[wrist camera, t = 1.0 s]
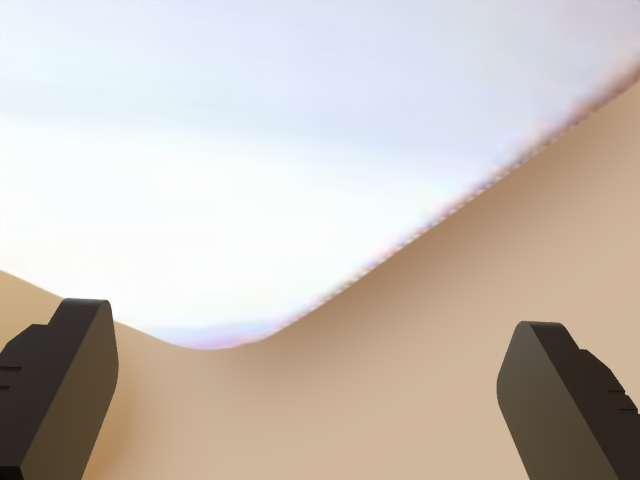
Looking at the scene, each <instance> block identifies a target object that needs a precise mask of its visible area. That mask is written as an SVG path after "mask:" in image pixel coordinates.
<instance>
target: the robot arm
mask: <svg viewBox="0 0 640 480" xmlns="http://www.w3.org/2000/svg"><path fill="white" fill-rule="evenodd" d="M118 366H119V364H118V353H117V347H116V339H115V332H114V324H113V317H112V310H111V305H110V303H109V301H108V300H97V299H76V298H66V299H64V300H63V301H62V302H61V304H60V305H59V307H58V308H57V310H56V312H55V313H54V315H53V317H52V318H51V320H50V322H49V323H48V325H39V324H32V325H30V326H29V327H28V328H26V329H25V330H24V331H22V332H21V333H20V334H19V335H17V336H16V337H15V338H13V339H12V340H11V341H9V342H8V343H7V344H6V346H5V347H4V349H3V350H2V352H1V353H0V480H81V479H82V476H83V473H84V471H85V468H86V465H87V462H88V460H89V457H90V455H91V452H92V450H93V447H94V444H95V441H96V439H97V436H98V434H99V431H100V429H101V426H102V423H103V420H104V418H105V415H106V413H107V410H108V407H109V405H110V402H111V399H112V396H113V394H114V391H115V388H116V384H117V378H118ZM497 398H498V403H499V406H500V409H501V412H502V414H503V416H504V419H505V421H506V423H507V426H508V428H509V431H510V433H511V435H512V438H513V440H514V443H515V445H516V448H517V450H518V452H519V455H520V457H521V459H522V462H523V464H524V467H525V469H526V471H527V474H528V476H529V479H530V480H640V414H638V409H637V407H636V406H635V404H634V403H633V402H632V400H631V399H630V397H629V396H627V395H625V390H624V389H623V387H622V386H621V384H620V383H619V381H618V380H617V379H616V377H615V376H614V374H613V373H612V371H611V370H610V369H609V368H608V367H607V366H606V365H605V364H603V363H602V362H601V361H600V360H599V359H597V358H596V357H595V356H594V355H593V354H591V353H590V352H589V351H588V350H584V349H579V348H578V346H577V344H576V343H575V341H574V340H573V338H572V337H571V336H570V334H569V332H568V331H567V329H566V328H565V327H564V326H563V325H562V324H560V323H554V322H533V321H532V322H531V321H521V322H520V323H519V324H518V325H517V326H516V328H515V331H514V333H513V336H512V339H511V342H510V344H509V347H508V350H507V352H506V355H505V358H504V361H503V363H502V366H501V369H500V372H499V375H498V379H497Z"/></svg>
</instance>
